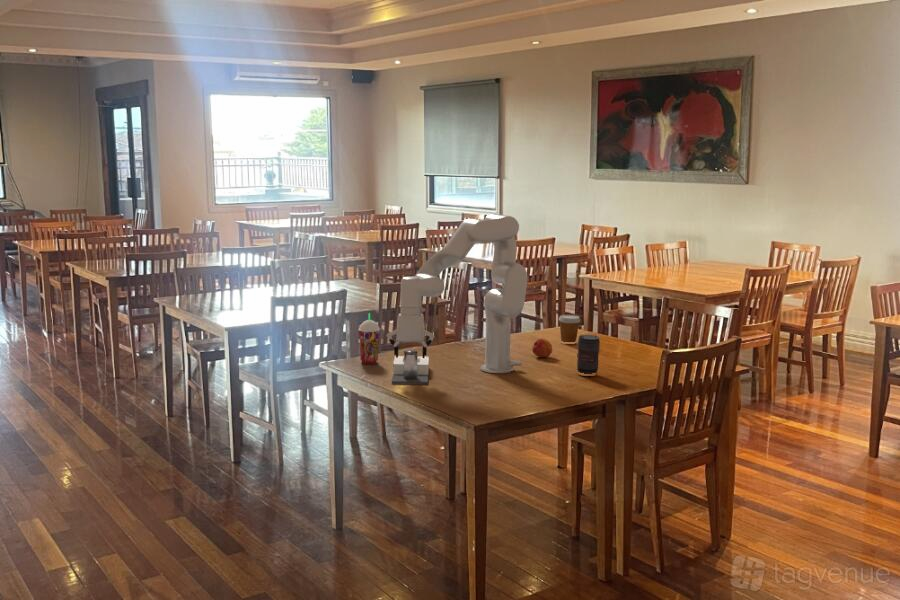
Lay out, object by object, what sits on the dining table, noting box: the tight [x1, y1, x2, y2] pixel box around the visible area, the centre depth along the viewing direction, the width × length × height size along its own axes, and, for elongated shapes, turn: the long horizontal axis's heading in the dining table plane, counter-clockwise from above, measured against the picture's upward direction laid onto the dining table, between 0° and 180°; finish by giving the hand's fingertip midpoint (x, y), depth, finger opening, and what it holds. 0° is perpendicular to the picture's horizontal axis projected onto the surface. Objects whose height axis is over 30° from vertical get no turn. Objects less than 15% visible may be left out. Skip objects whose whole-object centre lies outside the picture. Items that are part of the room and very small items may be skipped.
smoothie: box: [358, 312, 381, 365], centre depth 344 cm, size 8×8×20 cm
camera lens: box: [576, 334, 601, 374], centre depth 332 cm, size 8×8×15 cm
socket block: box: [392, 355, 430, 376], centre depth 333 cm, size 13×13×4 cm
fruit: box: [531, 338, 553, 358], centre depth 360 cm, size 8×8×8 cm
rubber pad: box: [391, 373, 429, 385], centre depth 320 cm, size 13×10×1 cm
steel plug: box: [403, 349, 419, 380], centre depth 319 cm, size 5×5×10 cm
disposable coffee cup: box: [558, 314, 581, 342], centre depth 387 cm, size 10×10×12 cm
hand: (410, 357), depth 319 cm, fingers open, 9 cm apart
